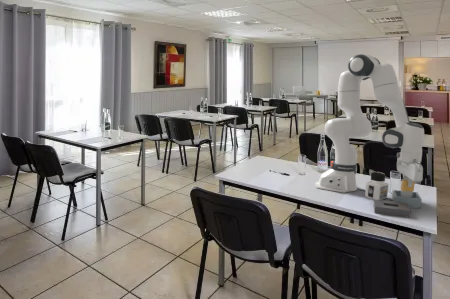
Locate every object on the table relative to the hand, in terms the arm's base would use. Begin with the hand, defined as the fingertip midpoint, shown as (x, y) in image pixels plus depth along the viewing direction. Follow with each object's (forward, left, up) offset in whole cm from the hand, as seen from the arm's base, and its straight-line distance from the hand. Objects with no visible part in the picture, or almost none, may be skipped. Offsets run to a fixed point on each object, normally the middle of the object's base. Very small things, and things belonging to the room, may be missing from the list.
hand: (407, 185), depth 163 cm
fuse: (0, 0, -6) cm, 6 cm away
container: (-13, +4, -9) cm, 16 cm away
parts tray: (0, 0, -9) cm, 9 cm away
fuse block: (-8, -14, -9) cm, 19 cm away
